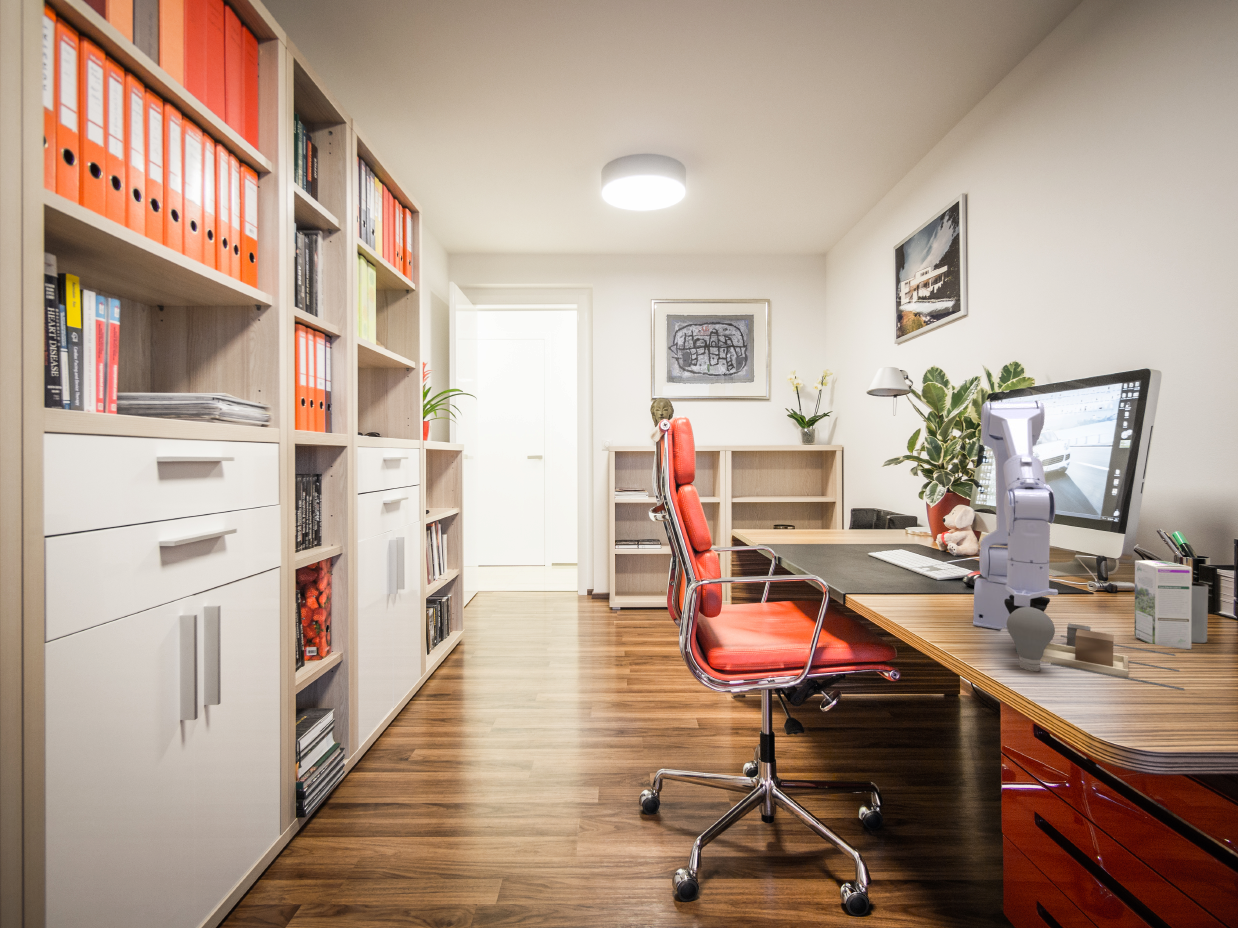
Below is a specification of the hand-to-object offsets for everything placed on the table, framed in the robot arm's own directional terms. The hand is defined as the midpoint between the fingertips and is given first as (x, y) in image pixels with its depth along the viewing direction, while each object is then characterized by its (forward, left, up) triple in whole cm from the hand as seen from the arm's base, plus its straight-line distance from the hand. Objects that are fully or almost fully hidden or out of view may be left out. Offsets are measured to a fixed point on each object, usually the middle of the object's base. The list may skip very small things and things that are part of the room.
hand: (1026, 641), depth 97 cm
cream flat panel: (+11, +10, -2) cm, 15 cm away
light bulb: (+1, -9, -2) cm, 10 cm away
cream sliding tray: (+5, 0, -2) cm, 6 cm away
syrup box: (+17, +25, -2) cm, 30 cm away
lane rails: (+11, +5, -2) cm, 12 cm away
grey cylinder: (+21, +32, -2) cm, 38 cm away
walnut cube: (+9, 0, -2) cm, 9 cm away
